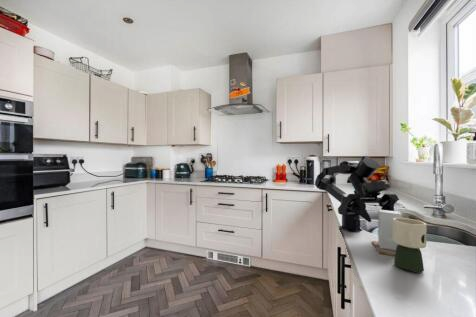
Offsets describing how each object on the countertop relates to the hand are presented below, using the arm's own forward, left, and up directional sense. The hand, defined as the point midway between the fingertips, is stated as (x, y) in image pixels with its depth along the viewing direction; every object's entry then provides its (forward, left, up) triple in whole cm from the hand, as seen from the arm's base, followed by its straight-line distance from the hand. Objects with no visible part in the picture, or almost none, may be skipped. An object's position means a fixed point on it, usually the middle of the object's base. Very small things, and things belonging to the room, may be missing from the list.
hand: (382, 221), depth 72 cm
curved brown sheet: (+3, -1, -8) cm, 9 cm away
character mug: (+13, -8, -9) cm, 18 cm away
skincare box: (+3, -1, -8) cm, 9 cm away
